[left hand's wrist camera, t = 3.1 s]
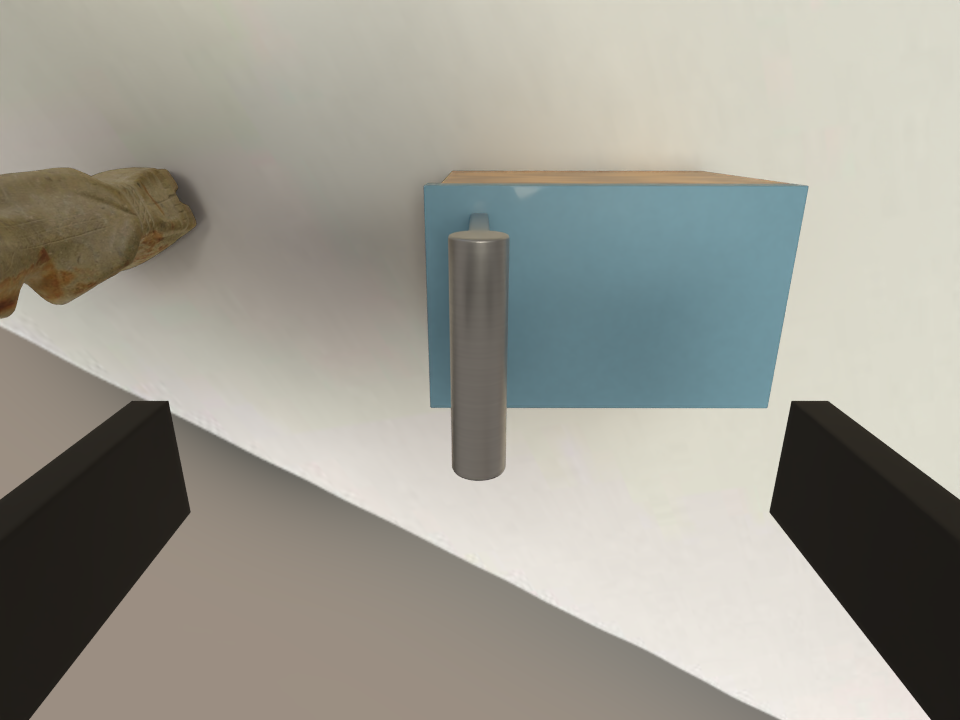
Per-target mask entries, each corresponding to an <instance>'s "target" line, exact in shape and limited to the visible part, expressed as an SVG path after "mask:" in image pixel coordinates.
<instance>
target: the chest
mask: <svg viewBox="0 0 960 720" xmlns="http://www.w3.org/2000/svg"><path fill="white" fill-rule="evenodd" d="M442 183H658V184H790V183H783V182H776V181H769V180H762V179H755V178H747V177H740V176H733V175H726V174H719V173H712V172H705V171H452V172H451V173H450V174H449V175H448V176H447V177H446V179H445V180H444V181H443V182H442Z"/></svg>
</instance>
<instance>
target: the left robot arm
mask: <svg viewBox="0 0 960 720" xmlns="http://www.w3.org/2000/svg"><path fill="white" fill-rule="evenodd" d="M189 514H190V507H189V502H188V497H187V492H186V487H185V482H184V477H183V472H182V467H181V462H180V457H179V452H178V447H177V442H176V437H175V432H174V427H173V422H172V417H171V412H170V407H169V402H168V401H131V402H130V403H129V404H127V405H126V406H125V407H123V408H122V409H121V410H119V411H118V412H117V413H115V414H114V415H113V416H111V417H110V418H109V419H107V420H106V421H105V422H103V423H102V424H101V425H99V426H98V427H97V428H95V429H94V430H93V431H91V432H90V433H89V434H87V435H86V436H85V437H83V438H82V439H81V440H79V441H78V442H77V443H75V444H74V445H73V446H71V447H70V448H69V449H67V450H66V451H65V452H63V453H62V454H61V455H59V456H58V457H57V458H55V459H54V460H53V461H51V462H50V463H49V464H47V465H46V466H45V467H43V468H42V469H41V470H39V471H38V472H37V473H35V474H34V475H33V476H31V477H30V478H29V479H27V480H26V481H25V482H23V483H22V484H21V485H19V486H18V487H17V488H15V489H14V490H13V491H11V492H10V493H9V494H7V495H6V496H5V497H3V498H2V499H1V500H0V720H29V719H30V718H31V716H32V715H33V714H34V713H35V711H36V710H37V709H38V707H39V706H40V705H41V704H42V702H43V701H44V700H45V698H46V697H47V696H48V695H49V693H50V692H51V691H52V689H53V688H54V687H55V685H56V684H57V683H58V682H59V680H60V679H61V678H62V677H63V675H64V674H65V673H66V671H67V670H68V669H69V668H70V666H71V665H72V664H73V662H74V661H75V660H76V659H77V657H78V656H79V655H80V653H81V652H82V651H83V650H84V648H85V647H86V646H87V644H88V643H89V642H90V641H91V639H92V638H93V637H94V636H95V634H96V633H97V632H98V630H99V629H100V628H101V626H102V625H103V624H104V623H105V621H106V620H107V619H108V618H109V616H110V615H111V614H112V612H113V611H114V610H115V608H116V607H117V606H118V605H119V603H120V602H121V601H122V600H123V598H124V597H125V596H126V594H127V593H128V592H129V591H130V589H131V588H132V587H133V585H134V584H135V583H136V582H137V580H138V579H139V578H140V576H141V575H142V574H143V573H144V571H145V570H146V569H147V567H148V566H149V565H150V564H151V562H152V561H153V560H154V558H155V557H156V556H157V555H158V553H159V552H160V551H161V549H162V548H163V547H164V546H165V544H166V543H167V542H168V540H169V539H170V538H171V537H172V535H173V534H174V533H175V531H176V530H177V529H178V528H179V526H180V525H181V524H182V522H183V521H184V520H185V519H186V517H187V516H188V515H189ZM770 514H771V515H772V516H773V517H774V519H775V520H776V521H777V522H778V524H779V525H780V526H781V528H782V529H783V530H784V531H785V533H786V534H787V535H788V537H789V538H790V539H791V540H792V542H793V543H794V544H795V546H796V547H797V548H798V549H799V551H800V552H801V553H802V555H803V556H804V557H805V558H806V560H807V561H808V562H809V564H810V565H811V566H812V567H813V569H814V570H815V571H816V573H817V574H818V575H819V576H820V578H821V579H822V580H823V582H824V583H825V584H826V585H827V587H828V588H829V589H830V591H831V592H832V593H833V594H834V596H835V597H836V598H837V600H838V601H839V602H840V603H841V605H842V606H843V607H844V609H845V610H846V611H847V612H848V614H849V615H850V616H851V618H852V619H853V620H854V621H855V623H856V624H857V625H858V627H859V628H860V629H861V630H862V632H863V633H864V634H865V636H866V637H867V638H868V639H869V641H870V642H871V643H872V644H873V646H874V647H875V648H876V650H877V651H878V652H879V653H880V655H881V656H882V657H883V659H884V660H885V661H886V662H887V664H888V665H889V666H890V668H891V669H892V670H893V671H894V673H895V674H896V675H897V677H898V678H899V679H900V680H901V682H902V683H903V684H904V686H905V687H906V688H907V689H908V691H909V692H910V693H911V695H912V696H913V697H914V698H915V700H916V701H917V702H918V704H919V705H920V706H921V707H922V709H923V710H924V711H925V713H926V714H927V715H928V716H929V718H930V719H931V720H960V500H959V499H958V498H957V497H955V496H954V495H953V494H951V493H950V492H949V491H947V490H946V489H945V488H943V487H942V486H941V485H939V484H938V483H937V482H935V481H934V480H933V479H931V478H930V477H929V476H927V475H926V474H925V473H923V472H922V471H921V470H919V469H918V468H917V467H915V466H914V465H913V464H911V463H910V462H909V461H907V460H906V459H905V458H903V457H902V456H901V455H899V454H898V453H897V452H895V451H894V450H893V449H891V448H890V447H889V446H887V445H886V444H885V443H883V442H882V441H881V440H879V439H878V438H877V437H875V436H874V435H873V434H871V433H870V432H869V431H867V430H866V429H865V428H863V427H862V426H861V425H859V424H858V423H857V422H855V421H854V420H853V419H851V418H850V417H849V416H847V415H846V414H845V413H843V412H842V411H841V410H839V409H838V408H837V407H835V406H834V405H833V404H831V403H830V402H829V401H792V402H791V407H790V412H789V417H788V422H787V427H786V432H785V437H784V442H783V447H782V452H781V457H780V462H779V467H778V472H777V477H776V482H775V487H774V492H773V497H772V502H771V507H770Z"/></svg>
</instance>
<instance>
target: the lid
mask: <svg viewBox="0 0 960 720" xmlns="http://www.w3.org/2000/svg"><path fill="white" fill-rule="evenodd" d="M807 192H808V186H806V185H798V184H658V183H427V184H426V185H424V214H425V247H426V279H427V312H428V344H429V376H430V407H431V408H451V432H452V468H453V470H454V472H455V473H456V474H457V475H458V476H460V477H462V478H465V479H468V480H475V481H483V480H489V479H493V478H495V477H498V476H499V475H501V474H502V473H503V471H504V469H505V465H506V409H507V408H767V407H768V402H769V396H770V391H771V385H772V380H773V375H774V369H775V364H776V359H777V353H778V348H779V342H780V337H781V332H782V326H783V321H784V316H785V310H786V305H787V299H788V294H789V289H790V283H791V278H792V273H793V267H794V262H795V256H796V251H797V246H798V240H799V235H800V230H801V224H802V219H803V213H804V208H805V203H806V197H807Z"/></svg>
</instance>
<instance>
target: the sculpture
mask: <svg viewBox="0 0 960 720" xmlns="http://www.w3.org/2000/svg"><path fill="white" fill-rule="evenodd" d="M177 189H178V186H177V184H176V182H175V180H174V179H173V177H172V176H171V175H170V173H169V172H168V171H167V170H166V169H158V170H157V169H155V168H140V167H133V168H123V169H116V170H110V171H105V172H101V173H98V174H96V175H93V176H90V175H87V174H85V173H83V172H81V171H78V170H75V169H72V168H51V169H44V170H38V171H30V172H20V173H9V174H2V175H0V319H2V318H6V317H8V316H10V315H11V314H12V313H13V312H14V311H15V308H16V305H17V301H18V297H19V293H20V289H21V287H22V285H23V283H25V284H27V285H29V286H30V287H31V288H32V289H33V290H34V291H35V292H36V293H38V294H39V295H40V296H41V297H42V298H44V299H45V300H46V301H48V302H50V303H52V304H56V305H63V304H66V303H69V302H70V301H72V300H74V299H75V298H77V297H79V296H80V295H82V294H84V293H85V292H87V291H89V290H90V289H92V288H93V287H95V286H97V285H98V284H100V283H101V282H103V281H105V280H107V279H108V278H110V277H112V276H114V275H116V274H117V273H119V272H120V271H123V270H127V269H130V268H133V267H135V266H137V265H139V264H141V263H143V262H145V261H147V260H149V259H150V258H152V257H154V256H155V255H157V254H158V253H160V252H162V251H163V250H165V249H166V248H167V247H169V246H170V245H172V244H173V243H174V242H175V241H176V240H177V239H179V238H180V237H182V236H183V235H185V234H186V233H187V232H189V231H190V230H192V229H193V228H194V227H195V226H196V220H195V218H194V215H193V213H192V211H191V209H190V208H189V206H188V205H186V204H183V203H182V202H180V201H179V199H178V197H177V195H176V190H177Z"/></svg>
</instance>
